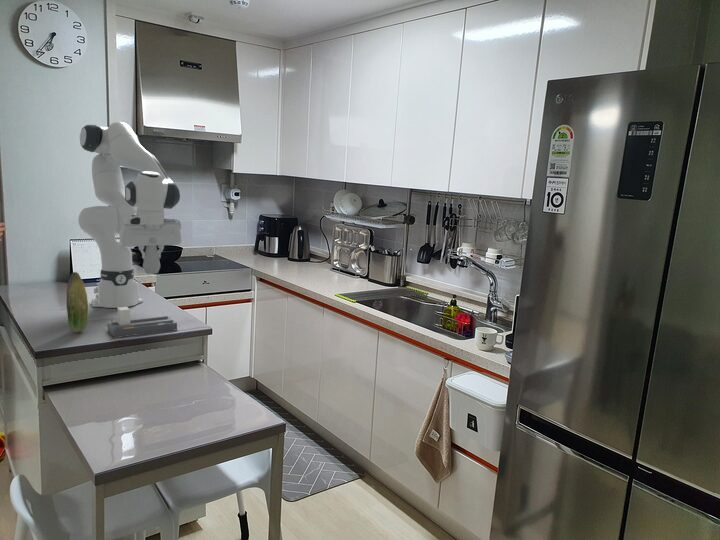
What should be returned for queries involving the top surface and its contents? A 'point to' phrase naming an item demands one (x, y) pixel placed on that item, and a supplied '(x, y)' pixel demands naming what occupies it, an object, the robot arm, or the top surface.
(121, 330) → the switch plate
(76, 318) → the vegetable
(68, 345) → the top surface
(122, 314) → the slider knob
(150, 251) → the salt shaker
